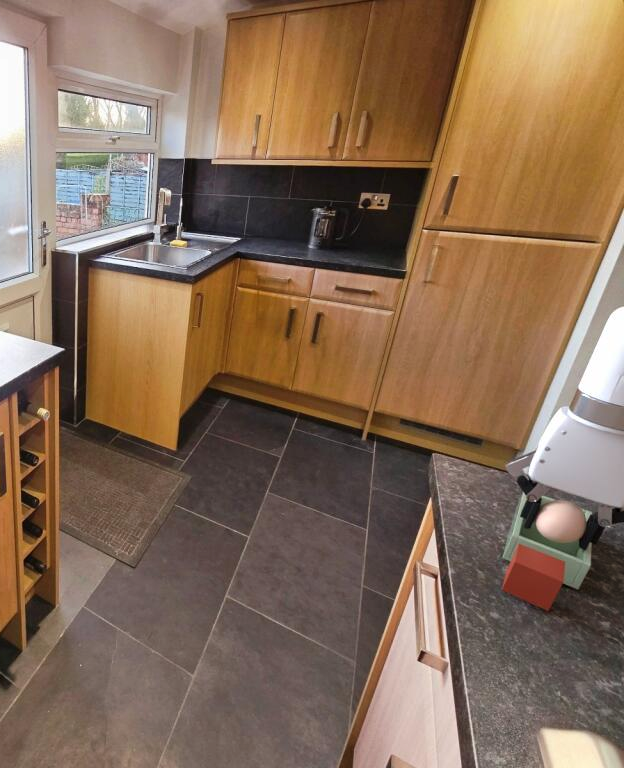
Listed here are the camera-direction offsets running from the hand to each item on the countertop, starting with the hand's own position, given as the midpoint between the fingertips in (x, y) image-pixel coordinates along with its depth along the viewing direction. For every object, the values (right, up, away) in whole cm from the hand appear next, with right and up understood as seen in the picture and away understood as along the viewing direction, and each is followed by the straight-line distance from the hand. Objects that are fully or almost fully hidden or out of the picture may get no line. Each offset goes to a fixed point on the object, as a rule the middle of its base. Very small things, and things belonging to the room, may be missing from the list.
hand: (554, 532), depth 66 cm
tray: (+2, -3, +4) cm, 6 cm away
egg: (0, -1, 0) cm, 1 cm away
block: (-7, -6, -4) cm, 10 cm away
